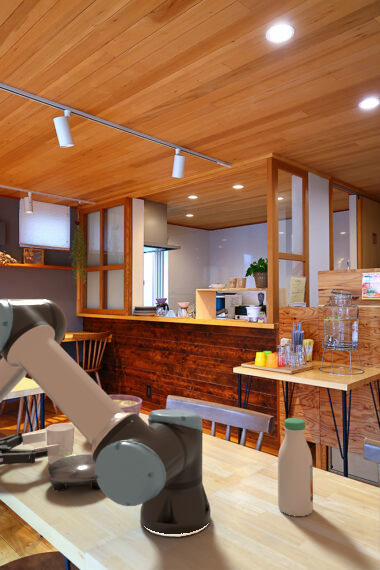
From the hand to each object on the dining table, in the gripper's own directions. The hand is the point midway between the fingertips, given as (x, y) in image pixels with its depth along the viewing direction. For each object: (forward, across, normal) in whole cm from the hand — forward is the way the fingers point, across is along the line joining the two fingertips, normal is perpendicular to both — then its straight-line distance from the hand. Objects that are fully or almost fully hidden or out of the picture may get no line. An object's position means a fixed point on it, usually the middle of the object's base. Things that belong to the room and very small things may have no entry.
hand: (51, 442), depth 127 cm
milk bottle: (+38, +59, -6) cm, 70 cm away
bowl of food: (+25, -14, -6) cm, 30 cm away
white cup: (+2, +1, -6) cm, 6 cm away
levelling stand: (+2, +19, -6) cm, 20 cm away
